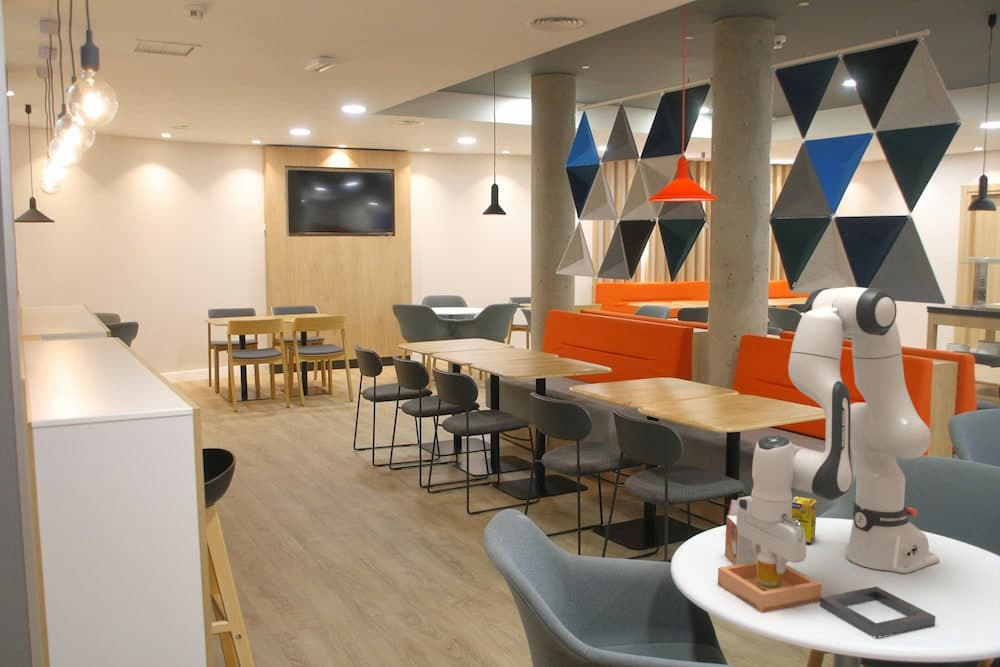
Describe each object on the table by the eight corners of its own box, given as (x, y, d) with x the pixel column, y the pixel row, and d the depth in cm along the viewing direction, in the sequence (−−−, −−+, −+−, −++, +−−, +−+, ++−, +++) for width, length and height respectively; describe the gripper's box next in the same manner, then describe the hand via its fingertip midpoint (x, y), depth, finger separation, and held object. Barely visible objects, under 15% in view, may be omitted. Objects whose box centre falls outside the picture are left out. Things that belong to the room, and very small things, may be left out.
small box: (724, 555, 216) (725, 515, 214) (745, 554, 216) (747, 514, 215) (735, 567, 208) (737, 526, 206) (757, 566, 208) (759, 525, 207)
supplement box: (810, 545, 222) (812, 505, 221) (787, 541, 225) (789, 501, 224) (815, 538, 227) (817, 499, 226) (792, 534, 230) (794, 495, 229)
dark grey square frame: (876, 595, 192) (876, 586, 191) (934, 625, 177) (935, 616, 177) (819, 606, 186) (820, 597, 186) (875, 638, 171) (876, 629, 171)
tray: (773, 574, 203) (774, 558, 203) (820, 601, 189) (821, 583, 188) (717, 584, 198) (718, 567, 197) (761, 612, 183) (762, 594, 182)
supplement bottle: (782, 592, 190) (784, 550, 189) (757, 590, 191) (759, 549, 190) (779, 582, 195) (780, 541, 194) (755, 580, 196) (756, 540, 195)
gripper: (814, 521, 182) (812, 582, 184) (754, 493, 201) (752, 549, 203) (791, 524, 180) (788, 586, 182) (732, 497, 199) (730, 553, 201)
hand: (769, 566), depth 192 cm, fingers closed on supplement bottle, 5 cm apart
